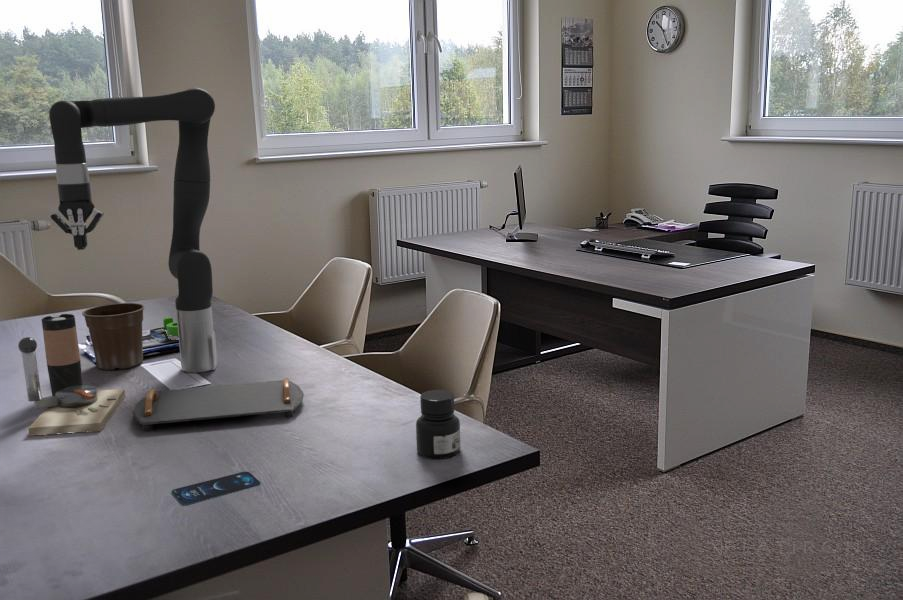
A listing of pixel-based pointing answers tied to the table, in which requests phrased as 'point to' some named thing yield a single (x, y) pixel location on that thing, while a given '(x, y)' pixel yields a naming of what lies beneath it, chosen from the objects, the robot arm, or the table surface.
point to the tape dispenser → (170, 326)
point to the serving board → (218, 402)
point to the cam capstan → (63, 397)
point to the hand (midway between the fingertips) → (81, 249)
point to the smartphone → (215, 487)
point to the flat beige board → (79, 415)
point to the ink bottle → (437, 425)
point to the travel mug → (62, 352)
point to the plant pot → (116, 334)
